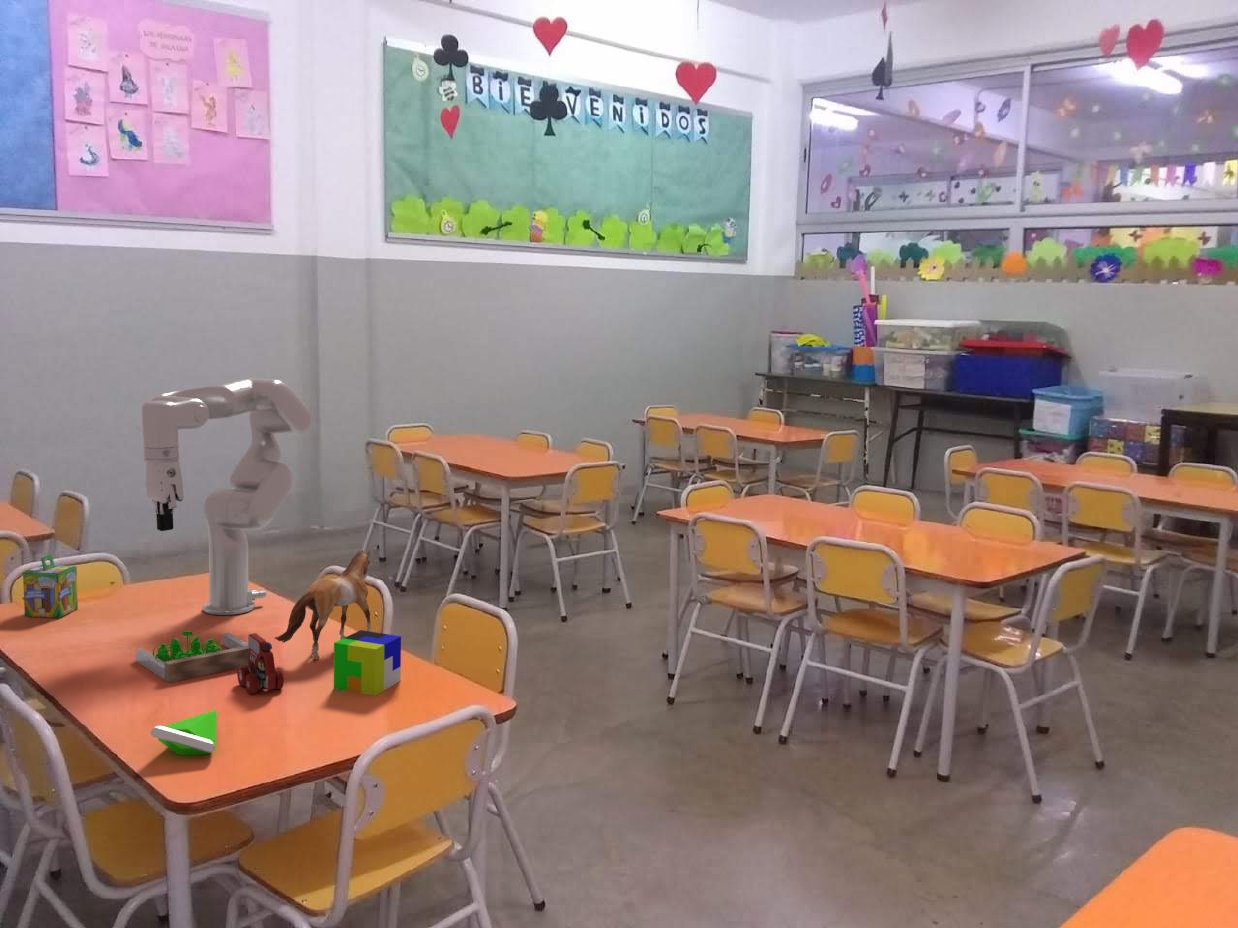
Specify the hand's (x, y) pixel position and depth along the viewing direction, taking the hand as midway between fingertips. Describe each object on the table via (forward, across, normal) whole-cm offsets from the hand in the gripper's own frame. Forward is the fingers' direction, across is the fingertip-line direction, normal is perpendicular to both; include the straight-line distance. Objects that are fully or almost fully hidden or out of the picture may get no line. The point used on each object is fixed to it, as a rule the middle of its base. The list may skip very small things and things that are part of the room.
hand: (165, 529), depth 249 cm
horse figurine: (+26, -33, -22) cm, 47 cm away
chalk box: (+26, +33, +16) cm, 44 cm away
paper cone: (+24, -65, +25) cm, 73 cm away
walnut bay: (+25, -26, +5) cm, 36 cm away
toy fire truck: (+24, -49, +3) cm, 55 cm away
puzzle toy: (+25, -62, -15) cm, 68 cm away
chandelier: (+25, -24, +7) cm, 35 cm away
